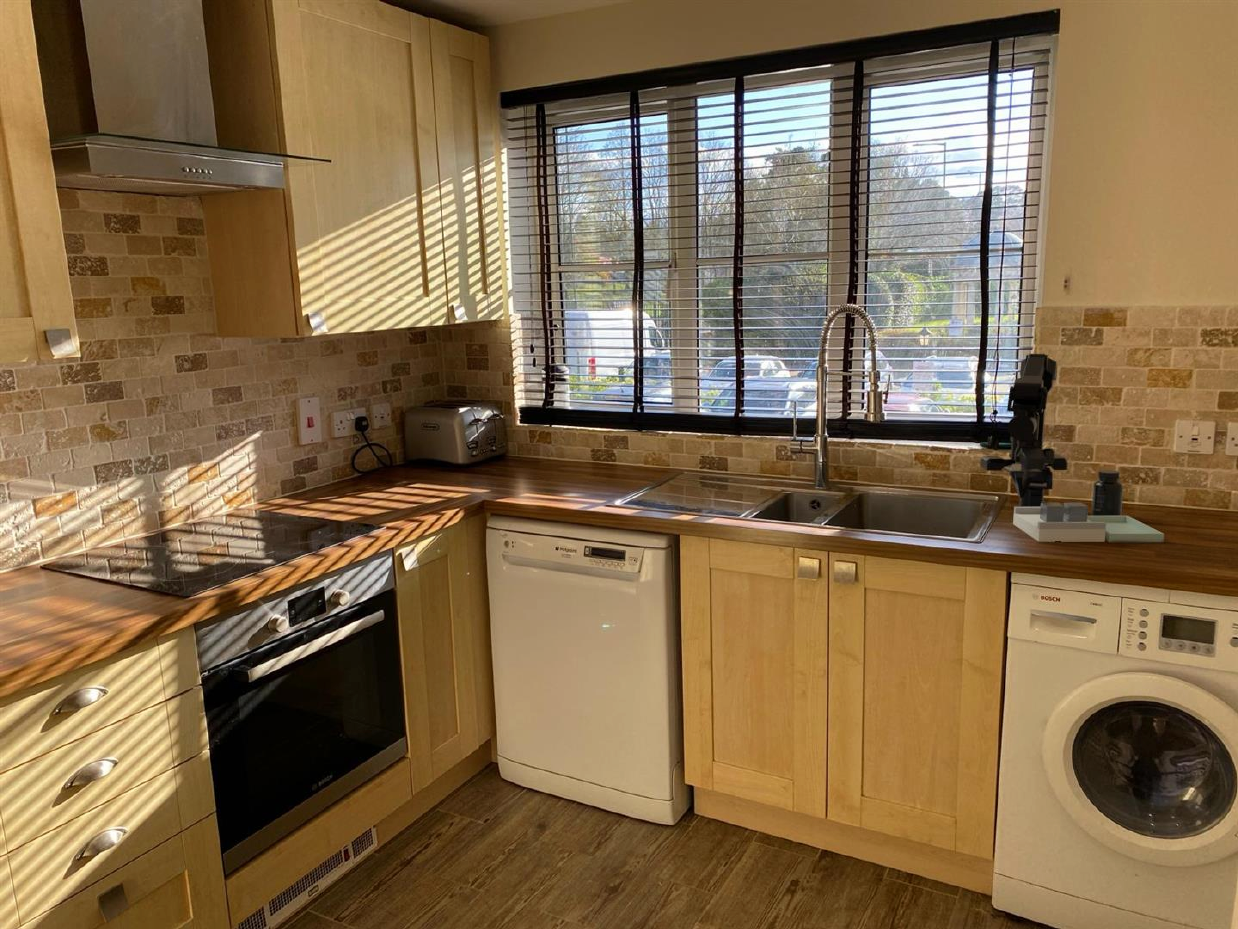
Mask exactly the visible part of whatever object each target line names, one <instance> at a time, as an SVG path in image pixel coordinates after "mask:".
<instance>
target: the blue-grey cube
mask: <svg viewBox="0 0 1238 929" xmlns="http://www.w3.org/2000/svg"><path fill="white" fill-rule="evenodd" d="M1040 519H1041V520H1043V521H1045V522H1063V520H1064V504H1061V503H1059V502H1043V503H1041V509H1040Z"/></svg>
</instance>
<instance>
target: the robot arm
mask: <svg viewBox="0 0 1238 929" xmlns="http://www.w3.org/2000/svg"><path fill="white" fill-rule="evenodd" d="M1019 375H1020V376H1019V378H1016V379H1015V380H1014V382H1013V385H1012V386H1010V388H1009V392H1008V393H1009V394H1008V401H1007V409H1006V412H1013V415H1012V418H1011V419H1010V421H1008V424H1007V426H1006V427H1007V432H1008V435H1009V436H1010V438H1009V440H1010V442H1011V444H1010V445H1011V448H1010V450H1011V451H1010V453H1009V455H1008V458H1003V457H1001V456H999V455H983V456H982V457H981V458H980V462H979V463H980V464H979V466H980V468H982V469H984V470H985V471H988V472H992V471H993V472H994V471H995V472H996V471H997V472H998V471H1002V470H1004V471H1005V472H1007V473H1009V475H1010V477H1011V480H1012V482H1013V484H1014V488H1015V490H1016V494H1017V496H1018V498H1019V504H1015V505H1014V507H1041V503H1044V496H1045V494H1044V493H1045V490H1046V491H1049V490H1053V484H1054V478H1053V477H1054V474H1053V471H1052V470H1051V469H1053V470H1054V471H1067V470H1068V460H1067V459H1066V457H1064V456H1062V455H1058V454H1055V450H1054V448H1051V447H1050V448H1049V447H1048V448H1047V447H1046V448H1044V434H1045V433H1044V432H1045V420H1046V418H1045V417H1046V409H1047V404H1048V399H1049V398H1048V397H1049V396H1048V395H1049V392H1050V391H1051V390H1052V388H1053V387H1054V383H1055V381H1057V377H1058V363H1057V361H1055V360H1053V359H1051V358H1050V357H1049V354H1045V353H1029V354H1026V356H1025V358H1024V359H1023V360H1022V361H1021V362H1020V370H1019Z"/></svg>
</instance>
